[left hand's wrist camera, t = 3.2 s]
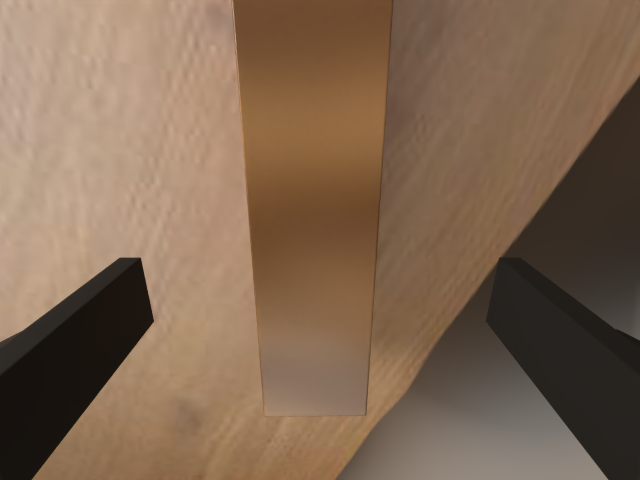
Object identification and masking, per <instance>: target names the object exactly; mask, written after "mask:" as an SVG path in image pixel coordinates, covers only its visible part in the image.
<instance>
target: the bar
mask: <svg viewBox="0 0 640 480" xmlns="http://www.w3.org/2000/svg"><path fill="white" fill-rule="evenodd" d="M232 12H233V25H234V38H235V50H236V63H237V76H238V88H239V101H240V114H241V127H242V139H243V152H244V165H245V177H246V190H247V203H248V216H249V228H250V241H251V254H252V266H253V279H254V292H255V305H256V317H257V330H258V343H259V355H260V368H261V381H262V394H263V406H264V416H265V417H283V416H365V415H366V411H367V396H368V380H369V365H370V350H371V334H372V319H373V304H374V288H375V273H376V258H377V242H378V227H379V212H380V196H381V181H382V166H383V150H384V135H385V120H386V104H387V89H388V73H389V58H390V43H391V27H392V12H393V0H232Z"/></svg>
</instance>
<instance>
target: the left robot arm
mask: <svg viewBox="0 0 640 480" xmlns="http://www.w3.org/2000/svg"><path fill="white" fill-rule="evenodd" d="M153 322H154V319H153V314H152V309H151V305H150V300H149V295H148V290H147V285H146V281H145V276H144V271H143V266H142V261H141V258H119V259H117V260H116V261H115V262H113V263H112V264H111V265H109V266H108V267H107V268H105V269H104V270H103V271H102V272H100V273H99V274H98V275H96V276H95V277H94V278H92V279H91V280H90V281H88V282H87V283H86V284H84V285H83V286H82V287H80V288H79V289H78V290H76V291H75V292H74V293H72V294H71V295H70V296H68V297H67V298H66V299H64V300H63V301H62V302H60V303H59V304H58V305H56V306H55V307H54V308H52V309H51V310H50V311H48V312H47V313H46V314H44V315H43V316H42V317H40V318H39V319H38V320H37V321H35V322H34V323H33V324H31V325H30V326H29V327H27V328H26V329H25V330H23V331H21V332H19V333H17V334H15V335H13V336H11V337H9V338H7V339H5V340H3V341H2V342H0V480H32V478H33V477H34V476H35V475H36V473H37V472H38V471H39V469H40V468H41V467H42V466H43V464H44V463H45V462H46V460H47V459H48V458H49V456H50V455H51V454H52V453H53V451H54V450H55V449H56V447H57V446H58V445H59V444H60V442H61V441H62V440H63V438H64V437H65V436H66V434H67V433H68V432H69V431H70V429H71V428H72V427H73V425H74V424H75V423H76V422H77V420H78V419H79V418H80V416H81V415H82V414H83V413H84V411H85V410H86V409H87V407H88V406H89V405H90V403H91V402H92V401H93V400H94V398H95V397H96V396H97V394H98V393H99V392H100V391H101V389H102V388H103V387H104V385H105V384H106V383H107V381H108V380H109V379H110V378H111V376H112V375H113V374H114V372H115V371H116V370H117V369H118V367H119V366H120V365H121V363H122V362H123V361H124V360H125V358H126V357H127V356H128V354H129V353H130V352H131V350H132V349H133V348H134V347H135V345H136V344H137V343H138V341H139V340H140V339H141V338H142V336H143V335H144V334H145V332H146V331H147V330H148V329H149V327H150V326H151V325H152V323H153ZM486 322H487V323H488V325H489V326H490V327H491V329H492V330H493V331H494V332H495V334H496V335H497V336H498V337H499V339H500V340H501V341H502V343H503V344H504V345H505V347H506V348H507V349H508V350H509V352H510V353H511V354H512V356H513V357H514V358H515V360H516V361H517V362H518V363H519V365H520V366H521V367H522V369H523V370H524V371H525V372H526V374H527V375H528V376H529V378H530V379H531V380H532V381H533V383H534V384H535V385H536V387H537V388H538V389H539V390H540V392H541V393H542V394H543V396H544V397H545V398H546V399H547V401H548V402H549V403H550V405H551V406H552V407H553V409H554V410H555V411H556V413H557V414H558V415H559V416H560V418H561V419H562V420H563V422H564V423H565V424H566V425H567V427H568V428H569V429H570V431H571V432H572V433H573V434H574V436H575V437H576V438H577V440H578V441H579V442H580V443H581V445H582V446H583V447H584V449H585V450H586V451H587V453H588V454H589V455H590V456H591V458H592V459H593V460H594V462H595V463H596V464H597V465H598V467H599V468H600V469H601V471H602V472H603V473H604V475H605V476H606V477H607V478H608V480H640V340H637V339H636V338H634V337H632V336H630V335H628V334H626V333H624V332H622V331H620V330H615V329H614V328H613V327H611V326H610V325H609V324H607V323H606V322H605V321H603V320H602V319H601V318H599V317H598V316H597V315H596V314H594V313H593V312H592V311H590V310H589V309H588V308H586V307H585V306H584V305H582V304H581V303H580V302H578V301H577V300H576V299H574V298H573V297H572V296H570V295H569V294H568V293H566V292H565V291H564V290H562V289H561V288H560V287H558V286H557V285H556V284H554V283H553V282H552V281H550V280H549V279H548V278H546V277H545V276H544V275H542V274H541V273H540V272H538V271H537V270H536V269H534V268H533V267H532V266H531V265H529V264H528V263H527V262H525V261H524V260H522V259H521V258H499V261H498V266H497V271H496V276H495V281H494V285H493V290H492V295H491V300H490V305H489V309H488V314H487V319H486Z"/></svg>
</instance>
